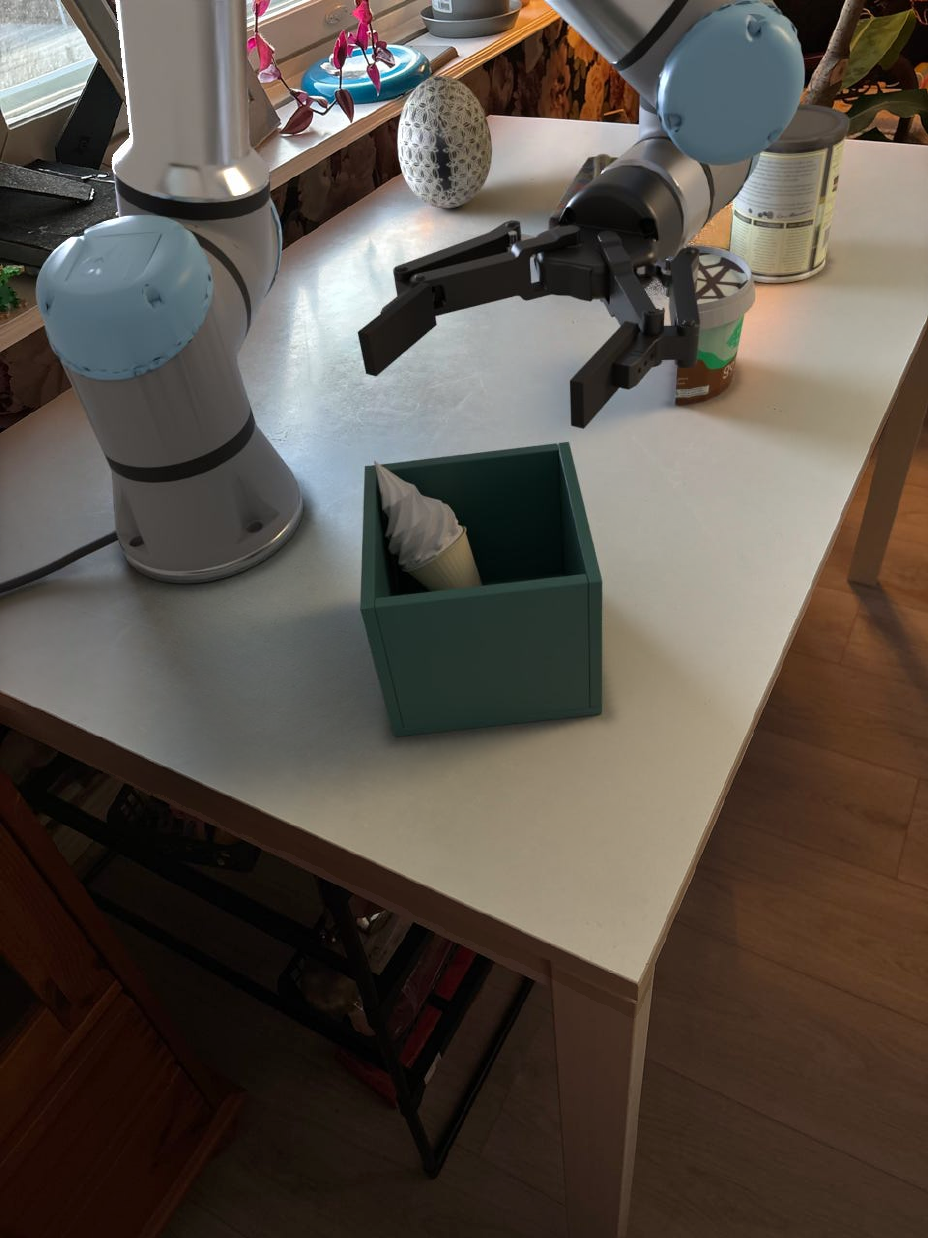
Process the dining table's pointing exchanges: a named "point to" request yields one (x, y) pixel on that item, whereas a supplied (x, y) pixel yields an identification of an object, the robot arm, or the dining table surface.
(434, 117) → the decorative egg
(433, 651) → the waste bin
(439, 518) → the ice cream cone
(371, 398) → the dining table surface
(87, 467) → the dining table surface
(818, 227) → the coffee can
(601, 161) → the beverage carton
